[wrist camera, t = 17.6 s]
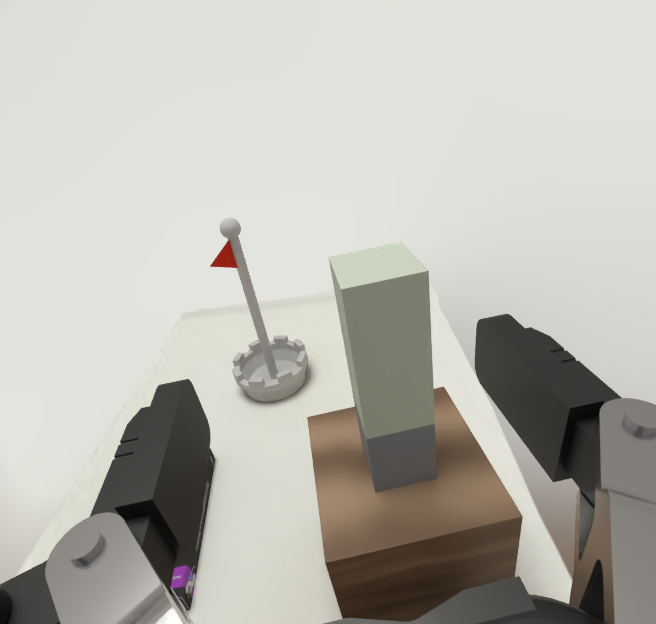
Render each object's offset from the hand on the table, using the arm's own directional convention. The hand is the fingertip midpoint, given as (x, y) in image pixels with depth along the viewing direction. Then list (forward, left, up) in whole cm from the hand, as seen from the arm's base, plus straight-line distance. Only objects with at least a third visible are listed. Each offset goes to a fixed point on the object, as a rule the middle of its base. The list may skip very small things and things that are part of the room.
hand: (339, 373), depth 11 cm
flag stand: (+27, +41, -37) cm, 62 cm away
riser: (+12, +7, -37) cm, 39 cm away
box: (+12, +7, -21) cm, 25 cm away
